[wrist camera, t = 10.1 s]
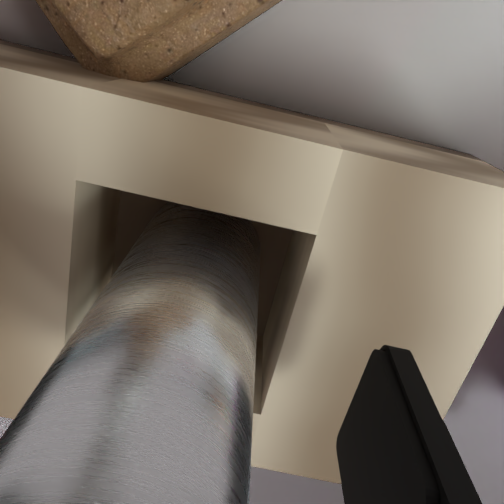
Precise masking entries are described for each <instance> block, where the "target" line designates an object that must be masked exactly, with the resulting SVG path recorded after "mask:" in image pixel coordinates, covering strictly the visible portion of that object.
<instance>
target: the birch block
mask: <svg viewBox="0 0 504 504" xmlns="http://www.w3.org/2000/svg"><path fill="white" fill-rule="evenodd" d="M169 202H174V203H179V204H183V205H187V206H192V207H196V208H200V209H205V210H209V211H214V212H218V213H222V214H227V215H231V216H235V217H240V218H244V219H249V220H250V221H251V222H252V224H253V226H254V227H255V229H256V232H257V234H258V237H259V241H260V248H261V254H260V276H259V297H258V319H257V341H256V362H255V384H254V405H253V427H252V448H251V466H253V467H258V468H263V469H268V470H273V471H278V472H283V473H288V474H293V475H298V476H303V477H308V478H313V479H318V480H323V481H328V482H333V483H338V484H342V483H341V477H340V471H339V465H338V458H337V452H336V441H337V436H338V433H339V430H340V428H341V425H342V423H343V421H344V418H345V416H346V413H347V411H348V408H349V406H350V404H351V401H352V399H353V396H354V394H355V391H356V389H357V387H358V384H359V382H360V379H361V377H362V374H363V372H364V370H365V367H366V365H367V362H368V360H369V358H370V355H371V353H372V351H373V350H374V349H378V350H380V349H381V347H382V346H383V345H389V346H394V347H398V348H403V349H407V350H410V351H411V353H412V355H413V357H414V359H415V361H416V363H417V366H418V368H419V370H420V372H421V374H422V377H423V379H424V381H425V383H426V385H427V387H428V390H429V392H430V394H431V396H432V398H433V400H434V403H435V405H436V407H437V409H438V411H439V413H440V416H441V418H442V420H443V419H444V417H445V415H446V414H447V412H448V410H449V408H450V406H451V404H452V402H453V400H454V398H455V397H456V395H457V393H458V391H459V389H460V387H461V385H462V383H463V382H464V380H465V378H466V376H467V374H468V372H469V370H470V368H471V366H472V365H473V363H474V361H475V359H476V357H477V355H478V353H479V351H480V350H481V348H482V346H483V344H484V342H485V340H486V338H487V336H488V334H489V333H490V331H491V329H492V327H493V325H494V323H495V321H496V319H497V318H498V316H499V314H500V312H501V310H502V308H503V306H504V172H503V171H501V170H499V169H497V168H495V167H493V166H492V165H490V164H488V163H486V162H484V161H482V160H480V159H478V158H477V157H475V156H473V155H470V154H466V153H462V152H458V151H454V150H450V149H446V148H442V147H437V146H433V145H429V144H425V143H421V142H417V141H413V140H409V139H405V138H401V137H396V136H392V135H388V134H384V133H380V132H376V131H372V130H368V129H364V128H360V127H356V126H351V125H347V124H343V123H339V122H335V121H331V120H327V119H323V118H319V117H315V116H310V115H306V114H302V113H298V112H294V111H290V110H286V109H282V108H278V107H274V106H269V105H265V104H261V103H257V102H253V101H249V100H245V99H241V98H237V97H233V96H228V95H224V94H220V93H216V92H212V91H208V90H204V89H200V88H196V87H192V86H187V85H183V84H179V83H175V82H171V81H167V80H163V79H162V80H157V81H151V82H145V83H143V82H137V81H132V80H127V79H122V78H117V77H112V76H107V75H104V74H100V73H97V72H94V71H91V70H87V69H84V68H83V67H82V66H81V64H80V63H79V62H78V61H77V59H76V58H73V57H69V56H64V55H60V54H56V53H52V52H48V51H44V50H40V49H36V48H32V47H28V46H23V45H19V44H15V43H11V42H7V41H3V40H0V416H1V417H6V418H11V419H14V418H15V417H16V416H17V414H18V413H19V411H20V410H21V408H22V407H23V405H24V404H25V402H26V401H27V400H28V398H29V397H30V395H31V394H32V392H33V391H34V389H35V388H36V386H37V385H38V384H39V382H40V381H41V379H42V378H43V376H44V375H45V373H46V372H47V370H48V369H49V368H50V366H51V365H52V363H53V362H54V360H55V359H56V357H57V356H58V354H59V353H60V352H61V350H62V349H63V347H64V346H65V344H66V343H67V341H68V340H69V338H70V337H71V336H72V334H73V333H74V331H75V330H76V328H77V327H78V325H79V324H80V322H81V321H82V320H83V318H84V317H85V315H86V314H87V312H88V311H89V309H90V308H91V306H92V305H93V304H94V302H95V301H96V299H97V298H98V296H99V295H100V293H101V292H102V290H103V289H104V288H105V286H106V285H107V283H108V282H109V280H110V279H111V277H112V276H113V274H114V273H115V272H116V270H117V269H118V267H119V266H120V264H121V263H122V261H123V260H124V258H125V257H126V256H127V254H128V253H129V251H130V250H131V248H132V247H133V245H134V244H135V242H136V241H137V240H138V238H139V237H140V235H141V234H142V232H143V231H144V229H145V228H146V226H147V225H148V224H149V222H150V221H151V219H152V218H153V217H154V215H155V214H156V213H157V212H158V211H159V210H160V209H161V208H162V207H163V206H165V205H166V204H167V203H169Z"/></svg>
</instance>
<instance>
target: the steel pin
mask: <svg viewBox="0 0 504 504" xmlns="http://www.w3.org/2000/svg"><path fill="white" fill-rule="evenodd" d="M260 254H261V248H260V241H259V237H258V234H257V232H256V229H255V227H254V226H253V224H252V222H251V221H250V220H249V219H244V218H240V217H235V216H231V215H227V214H222V213H218V212H214V211H209V210H205V209H200V208H196V207H192V206H187V205H183V204H179V203H174V202H169V203H167V204H166V205H165V206H163V207H162V208H161V209H160V210H159V211H158V212H157V213H156V214H155V215H154V217H153V218H152V219H151V221H150V222H149V224H148V225H147V226H146V228H145V229H144V231H143V232H142V234H141V235H140V237H139V238H138V240H137V241H136V242H135V244H134V245H133V247H132V248H131V250H130V251H129V253H128V254H127V256H126V257H125V258H124V260H123V261H122V263H121V264H120V266H119V267H118V269H117V270H116V272H115V273H114V274H113V276H112V277H111V279H110V280H109V282H108V283H107V285H106V286H105V288H104V289H103V290H102V292H101V293H100V295H99V296H98V298H97V299H96V301H95V302H94V304H93V305H92V306H91V308H90V309H89V311H88V312H87V314H86V315H85V317H84V318H83V320H82V321H81V322H80V324H79V325H78V327H77V328H76V330H75V331H74V333H73V334H72V336H71V337H70V338H69V340H68V341H67V343H66V344H65V346H64V347H63V349H62V350H61V352H60V353H59V354H58V356H57V357H56V359H55V360H54V362H53V363H52V365H51V366H50V368H49V369H48V370H47V372H46V373H45V375H44V376H43V378H42V379H41V381H40V382H39V384H38V385H37V386H36V388H35V389H34V391H33V392H32V394H31V395H30V397H29V398H28V400H27V401H26V402H25V404H24V405H23V407H22V408H21V410H20V411H19V413H18V414H17V416H16V417H15V418H14V420H13V421H12V423H11V424H10V426H9V427H8V429H7V430H6V432H5V433H4V434H3V436H2V437H1V439H0V504H249V491H250V470H251V448H252V427H253V405H254V384H255V362H256V341H257V319H258V297H259V276H260Z"/></svg>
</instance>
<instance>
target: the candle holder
mask: <svg viewBox="0 0 504 504" xmlns="http://www.w3.org/2000/svg"><path fill="white" fill-rule="evenodd" d="M35 1H36V2H37V4H38V5H39V6H40V8H41V9H42V11H43V12H44V14H45V15H46V17H47V18H48V20H49V21H50V23H51V24H52V26H53V27H54V29H55V30H56V32H57V33H58V35H59V36H60V38H61V39H62V41H63V42H64V44H65V45H66V46H67V47H68V49H69V50H70V51H71V53H72V54H73V55H74V57H75V58H76V59H77V61H78V62H79V63H80V64H81V66H82V67H83V68H84V69H87V70H91V71H94V72H97V73H100V74H104V75H107V76H112V77H117V78H122V79H127V80H132V81H137V82H143V83H145V82H151V81H157V80H162V79H164V78H165V77H167V76H169V75H170V74H172V73H174V72H176V71H177V70H179V69H180V68H182V67H183V66H185V65H186V64H188V63H189V62H191V61H192V60H194V59H195V58H197V57H198V56H200V55H201V54H203V53H204V52H206V51H207V50H209V49H210V48H212V47H213V46H214V45H216V44H217V43H219V42H220V41H222V40H223V39H225V38H226V37H228V36H229V35H231V34H232V33H234V32H235V31H237V30H238V29H240V28H241V27H243V26H244V25H246V24H247V23H249V22H250V21H252V20H253V19H255V18H256V17H258V16H259V15H261V14H262V13H264V12H265V11H267V10H268V9H270V8H271V7H273V6H274V5H276V4H277V3H279V2H280V1H282V0H35Z"/></svg>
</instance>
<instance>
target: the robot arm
mask: <svg viewBox="0 0 504 504" xmlns="http://www.w3.org/2000/svg"><path fill="white" fill-rule="evenodd" d="M336 452H337V458H338V465H339V471H340V477H341V483H342V489H343V496H344V502H345V504H482V503H481V500H480V498H479V496H478V494H477V492H476V490H475V487H474V485H473V483H472V481H471V479H470V477H469V474H468V472H467V470H466V468H465V466H464V464H463V461H462V459H461V457H460V455H459V453H458V451H457V448H456V446H455V444H454V442H453V440H452V438H451V435H450V433H449V431H448V429H447V427H446V425H445V423H444V421H443V420H442V418H441V416H440V413H439V411H438V409H437V407H436V405H435V403H434V400H433V398H432V396H431V394H430V392H429V390H428V387H427V385H426V383H425V381H424V379H423V377H422V374H421V372H420V370H419V368H418V366H417V363H416V361H415V359H414V357H413V355H412V353H411V351H410V350H407V349H403V348H398V347H394V346H389V345H383V346H382V347H381V349H380V350H378V349H374V350H373V351H372V353H371V355H370V358H369V360H368V362H367V365H366V367H365V370H364V372H363V374H362V377H361V379H360V382H359V384H358V387H357V389H356V391H355V394H354V396H353V399H352V401H351V404H350V406H349V408H348V411H347V413H346V416H345V418H344V421H343V423H342V425H341V428H340V430H339V433H338V436H337V441H336Z"/></svg>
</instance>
